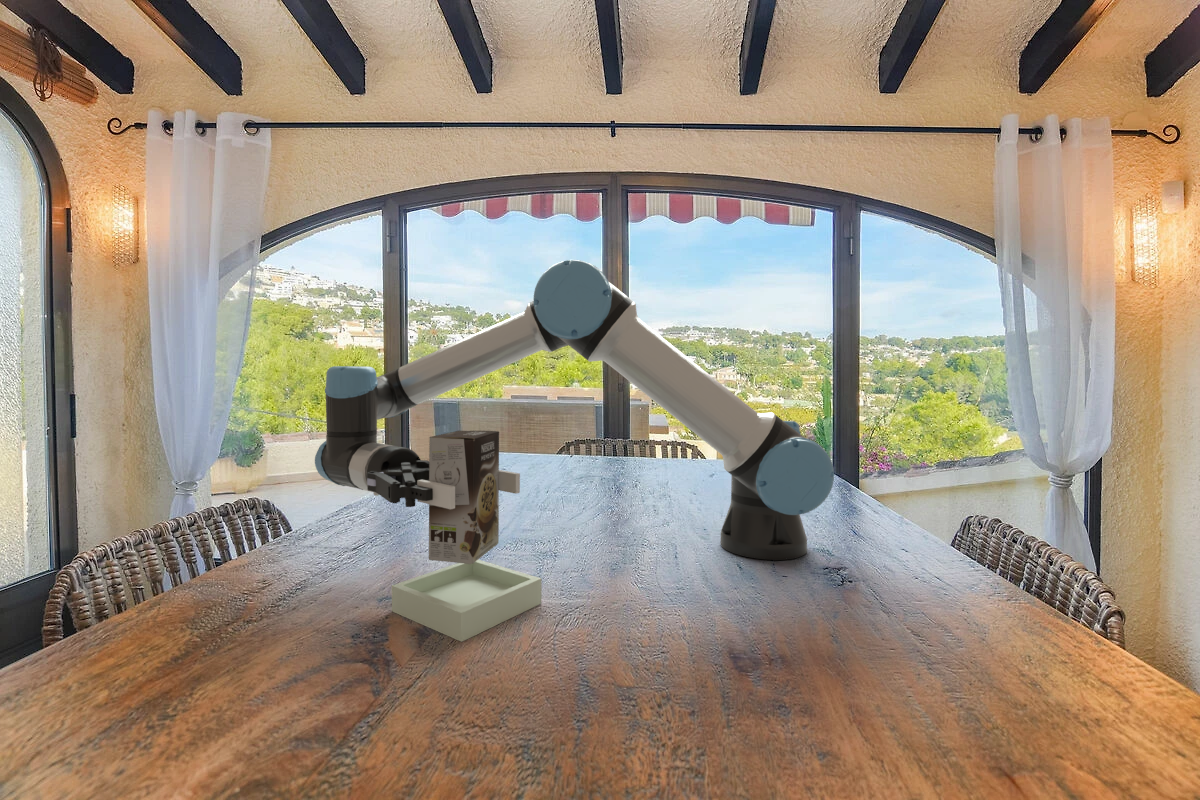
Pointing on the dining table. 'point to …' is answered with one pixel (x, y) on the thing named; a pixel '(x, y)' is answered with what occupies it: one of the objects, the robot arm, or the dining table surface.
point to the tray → (466, 598)
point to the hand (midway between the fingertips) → (487, 490)
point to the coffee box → (465, 495)
